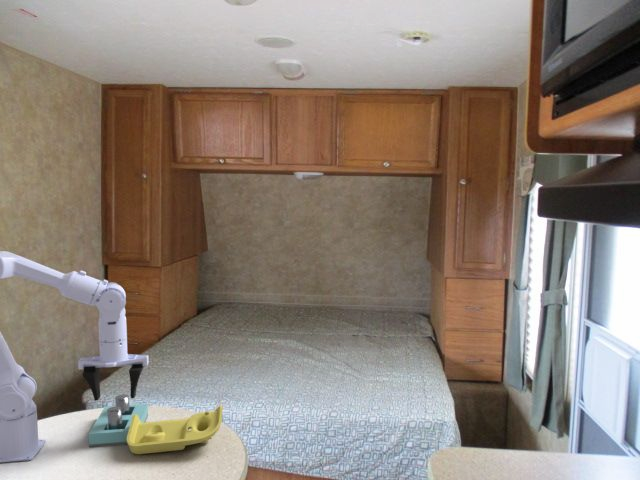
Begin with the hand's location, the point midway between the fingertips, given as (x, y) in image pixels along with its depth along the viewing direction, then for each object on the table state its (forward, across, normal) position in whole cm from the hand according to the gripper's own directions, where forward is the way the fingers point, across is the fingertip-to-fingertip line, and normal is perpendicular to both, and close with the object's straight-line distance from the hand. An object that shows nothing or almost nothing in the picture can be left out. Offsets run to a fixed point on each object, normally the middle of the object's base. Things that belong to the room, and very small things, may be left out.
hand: (115, 397), depth 112 cm
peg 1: (+9, 0, 0) cm, 9 cm away
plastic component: (+9, +14, -6) cm, 17 cm away
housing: (+9, 0, +4) cm, 10 cm away
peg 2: (+9, 0, +7) cm, 11 cm away
